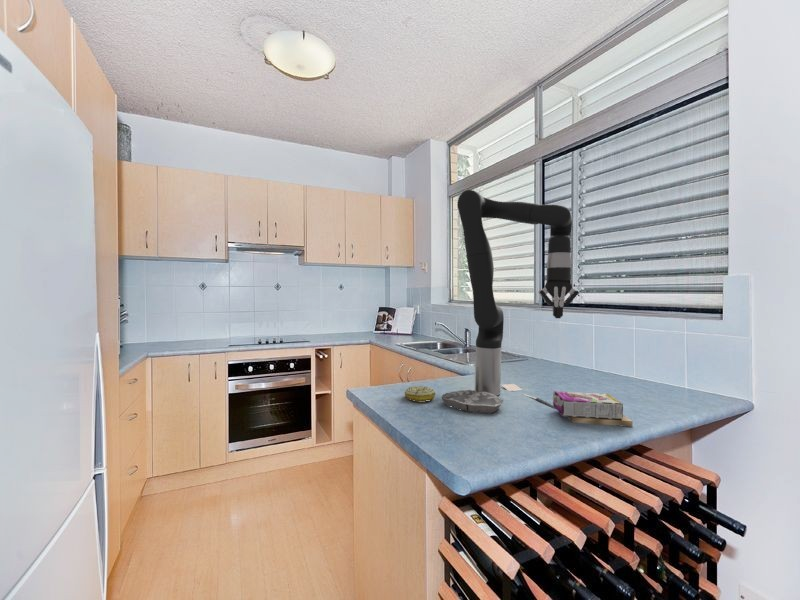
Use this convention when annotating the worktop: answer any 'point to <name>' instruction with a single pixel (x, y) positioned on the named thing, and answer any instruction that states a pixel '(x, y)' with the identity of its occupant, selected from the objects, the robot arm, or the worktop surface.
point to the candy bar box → (587, 405)
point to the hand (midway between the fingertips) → (557, 318)
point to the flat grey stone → (472, 401)
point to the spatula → (511, 387)
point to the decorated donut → (420, 393)
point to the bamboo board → (602, 421)
